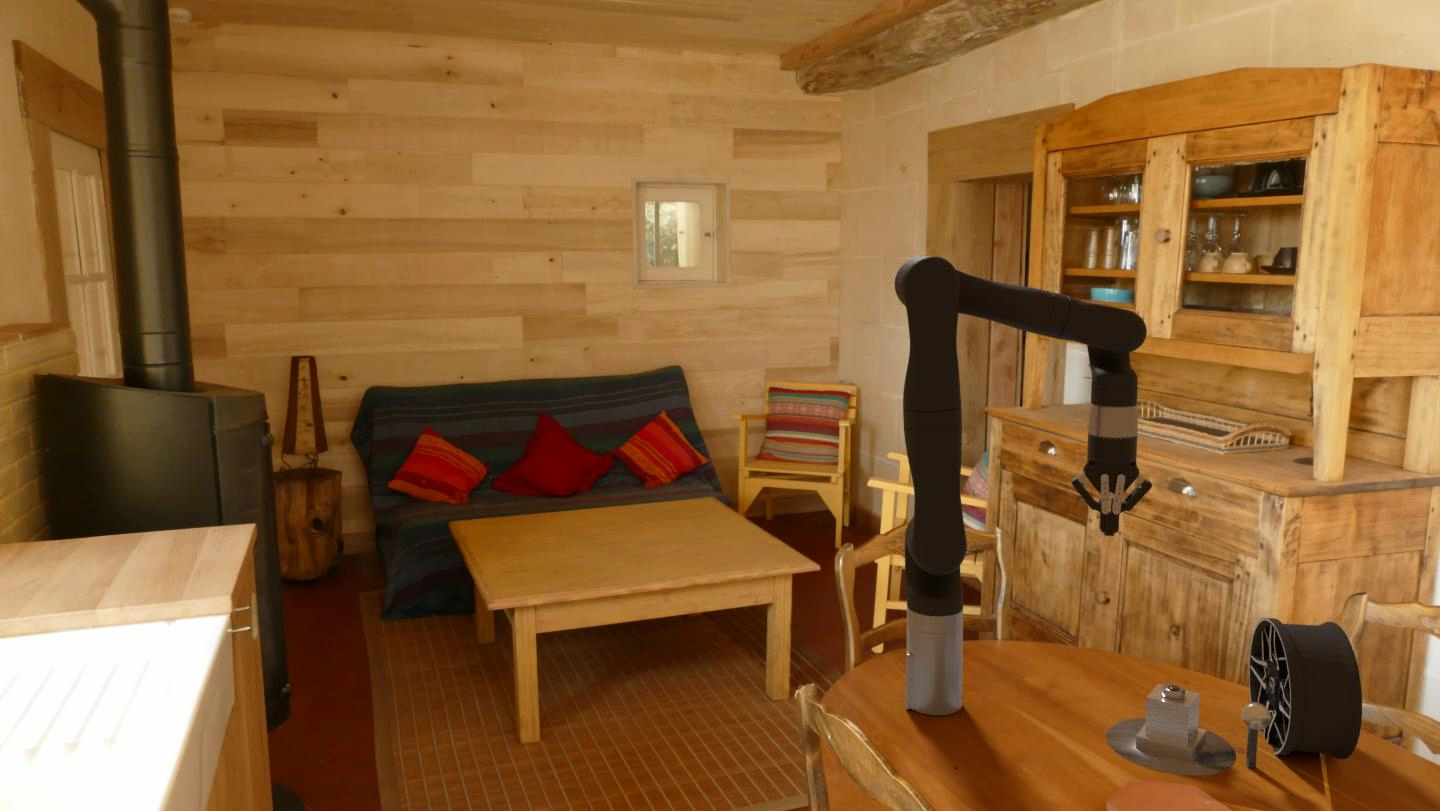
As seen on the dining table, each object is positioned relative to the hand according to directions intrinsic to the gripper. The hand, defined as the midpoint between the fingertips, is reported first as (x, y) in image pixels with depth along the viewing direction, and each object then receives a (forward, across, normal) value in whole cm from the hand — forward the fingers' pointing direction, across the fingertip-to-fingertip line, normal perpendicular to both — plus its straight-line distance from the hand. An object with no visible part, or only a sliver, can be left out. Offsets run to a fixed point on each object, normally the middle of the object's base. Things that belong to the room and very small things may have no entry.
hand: (1108, 534), depth 168 cm
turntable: (+29, +7, -17) cm, 34 cm away
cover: (+28, +7, -17) cm, 33 cm away
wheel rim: (+29, +26, -13) cm, 41 cm away
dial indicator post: (+29, +17, -22) cm, 40 cm away
